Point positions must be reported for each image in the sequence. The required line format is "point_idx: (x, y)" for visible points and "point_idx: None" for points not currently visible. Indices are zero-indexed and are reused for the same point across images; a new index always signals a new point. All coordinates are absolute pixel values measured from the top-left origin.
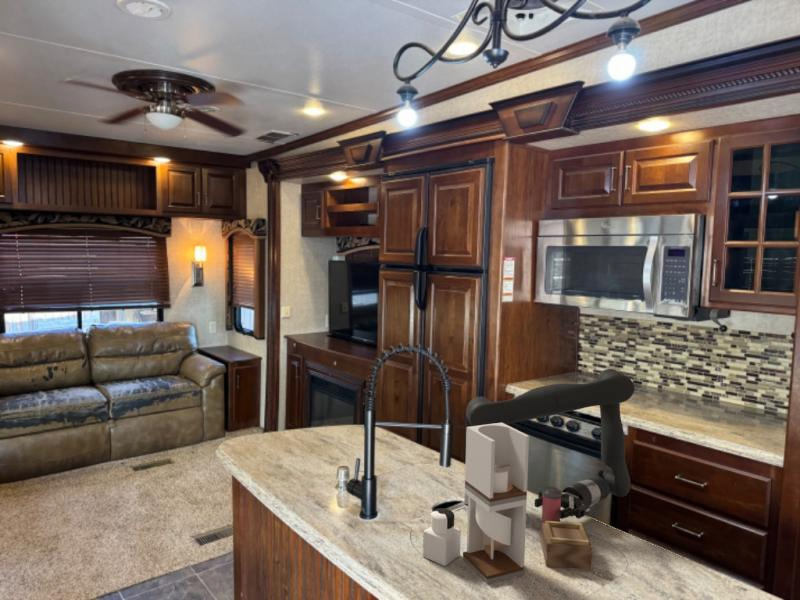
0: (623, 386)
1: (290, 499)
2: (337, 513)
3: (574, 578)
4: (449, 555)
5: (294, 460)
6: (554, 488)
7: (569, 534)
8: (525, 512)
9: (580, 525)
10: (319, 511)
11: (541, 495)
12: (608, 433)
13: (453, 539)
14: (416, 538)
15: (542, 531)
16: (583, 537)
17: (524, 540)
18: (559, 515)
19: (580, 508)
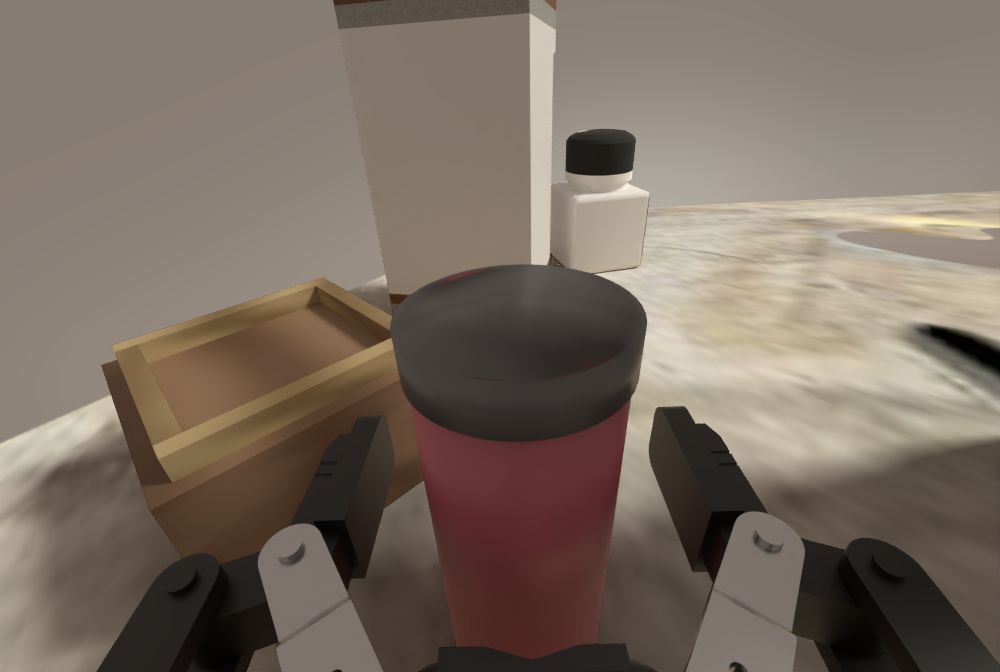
0: None
1: (967, 198)
2: (879, 218)
3: None
4: (553, 237)
5: None
6: (557, 358)
7: (253, 368)
8: (352, 92)
9: (170, 430)
10: (891, 209)
11: (827, 563)
12: None
13: (560, 205)
14: (700, 256)
15: None
16: (151, 371)
17: (374, 206)
18: (388, 440)
19: (149, 634)
